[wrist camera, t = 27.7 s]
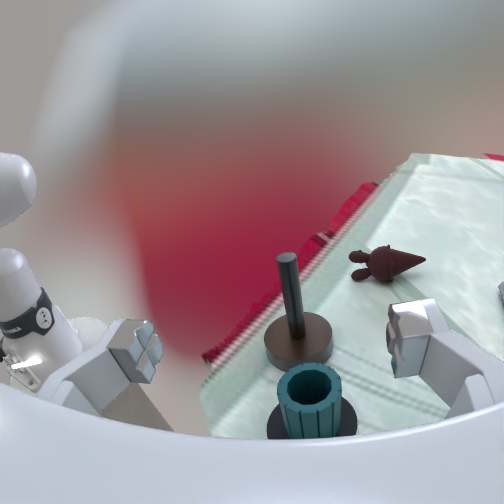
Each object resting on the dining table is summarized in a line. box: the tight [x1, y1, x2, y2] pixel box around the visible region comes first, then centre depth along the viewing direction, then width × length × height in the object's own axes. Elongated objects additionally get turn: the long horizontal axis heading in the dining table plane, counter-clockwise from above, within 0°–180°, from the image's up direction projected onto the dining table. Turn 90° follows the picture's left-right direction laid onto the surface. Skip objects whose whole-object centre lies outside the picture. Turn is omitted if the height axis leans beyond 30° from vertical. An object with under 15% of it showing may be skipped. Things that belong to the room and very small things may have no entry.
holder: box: [264, 252, 333, 372], centre depth 41 cm, size 10×10×16 cm
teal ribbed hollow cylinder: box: [277, 363, 342, 439], centre depth 30 cm, size 6×6×8 cm
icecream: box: [349, 245, 426, 281], centre depth 53 cm, size 7×7×15 cm
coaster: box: [267, 396, 357, 440], centre depth 32 cm, size 11×11×1 cm
